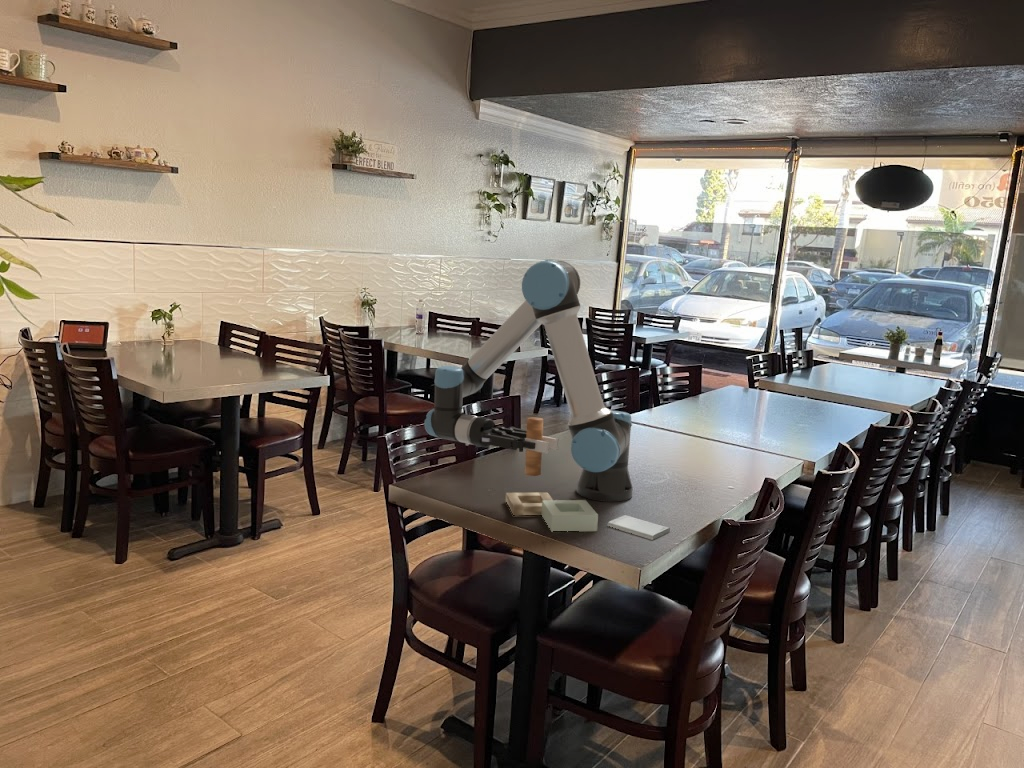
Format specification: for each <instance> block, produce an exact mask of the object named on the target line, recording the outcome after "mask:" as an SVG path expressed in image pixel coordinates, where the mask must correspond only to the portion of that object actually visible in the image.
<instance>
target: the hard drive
mask: <svg viewBox="0 0 1024 768" xmlns="http://www.w3.org/2000/svg"><path fill="white" fill-rule="evenodd" d="M609 526H610V527H609ZM607 527H609V528H612V527H613V528H612V529H615V528H616V530H618V529H619V531H621V532H626V533H627V534H631V533H632V535H635V536H638V537H642V538H645V539H648V540H651V541H653V540H656V539H657V538H660V537H662V536H663V535H664V536H665V535H666V534H668V533H671V528H670V527H667V526H663V525H660V524H658V523H654V522H652V521H651V522H650V521H647V520H643V519H639V518H636V517H633V516H630V515H626V514H624V515H621V516H619V517H616V518H614V519H612V520H609V521H608V522H607Z"/></svg>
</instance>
